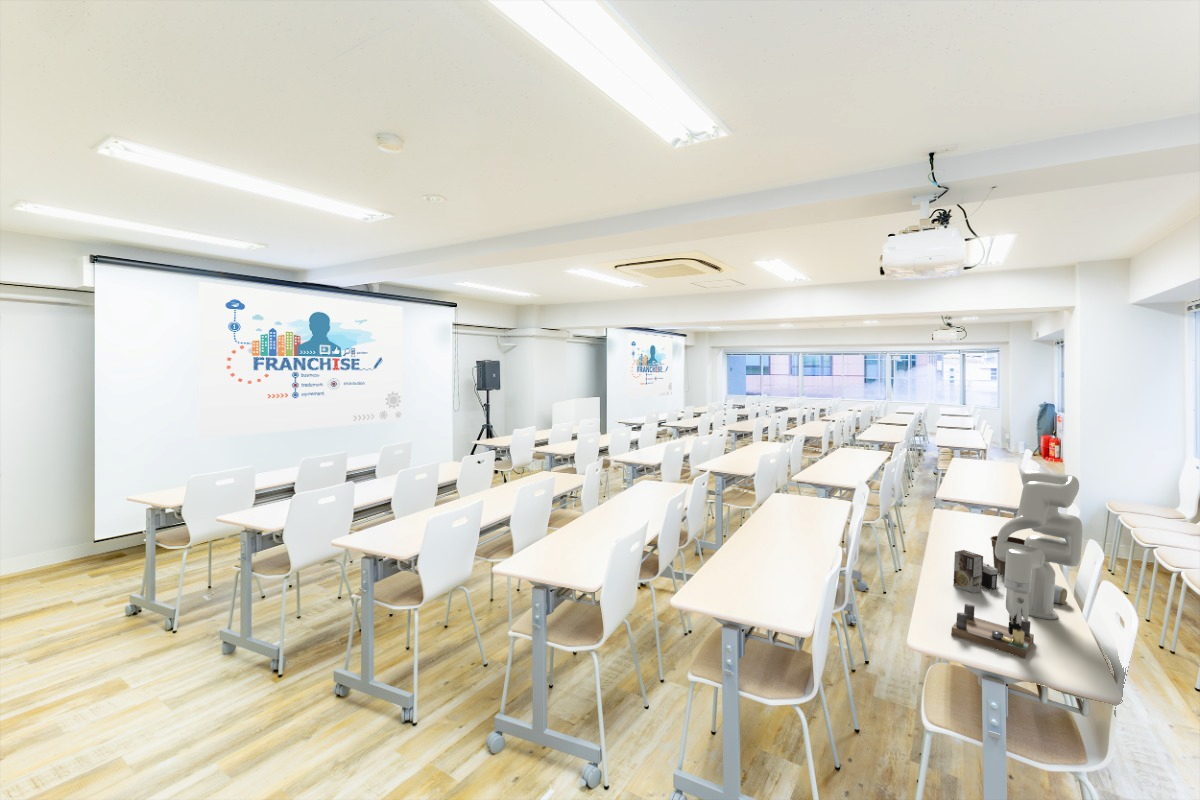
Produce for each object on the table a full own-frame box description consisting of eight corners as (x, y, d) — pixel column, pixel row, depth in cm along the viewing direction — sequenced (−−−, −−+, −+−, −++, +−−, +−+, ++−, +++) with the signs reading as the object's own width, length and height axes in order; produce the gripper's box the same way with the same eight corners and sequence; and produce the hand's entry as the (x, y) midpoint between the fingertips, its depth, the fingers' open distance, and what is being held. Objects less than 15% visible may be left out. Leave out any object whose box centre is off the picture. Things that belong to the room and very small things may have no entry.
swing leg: (990, 637, 194) (991, 623, 194) (993, 634, 196) (994, 621, 196) (1022, 647, 187) (1023, 633, 187) (1024, 645, 189) (1025, 631, 189)
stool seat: (962, 621, 213) (963, 601, 213) (1033, 642, 197) (1034, 621, 197) (951, 635, 202) (952, 614, 202) (1025, 658, 186) (1026, 636, 186)
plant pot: (981, 569, 268) (983, 537, 267) (1000, 564, 275) (1002, 533, 274) (1017, 581, 253) (1020, 548, 252) (1037, 576, 260) (1039, 543, 259)
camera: (1005, 589, 244) (1005, 567, 243) (985, 590, 244) (985, 568, 243) (983, 577, 258) (983, 557, 257) (964, 578, 258) (964, 557, 257)
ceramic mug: (1061, 606, 227) (1062, 589, 227) (1037, 599, 234) (1038, 582, 233) (1069, 601, 233) (1071, 583, 233) (1046, 594, 240) (1047, 577, 240)
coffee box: (982, 591, 242) (984, 556, 241) (972, 593, 240) (974, 557, 239) (962, 583, 251) (963, 549, 250) (952, 585, 248) (954, 551, 247)
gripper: (1036, 594, 185) (1033, 646, 186) (1024, 579, 198) (1021, 627, 199) (1009, 590, 188) (1006, 641, 189) (999, 575, 201) (996, 623, 202)
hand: (1014, 634), depth 194 cm, fingers closed
